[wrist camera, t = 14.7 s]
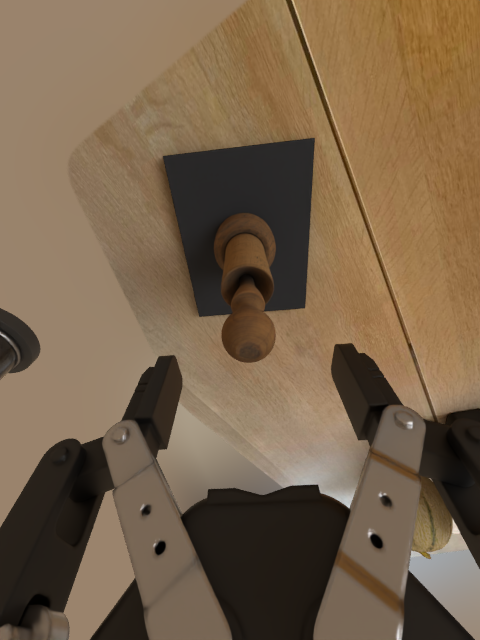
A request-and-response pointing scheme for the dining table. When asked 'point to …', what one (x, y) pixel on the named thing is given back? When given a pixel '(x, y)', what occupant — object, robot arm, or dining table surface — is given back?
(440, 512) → the cantaloupe
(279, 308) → the mat
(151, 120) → the dining table surface
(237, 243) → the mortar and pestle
